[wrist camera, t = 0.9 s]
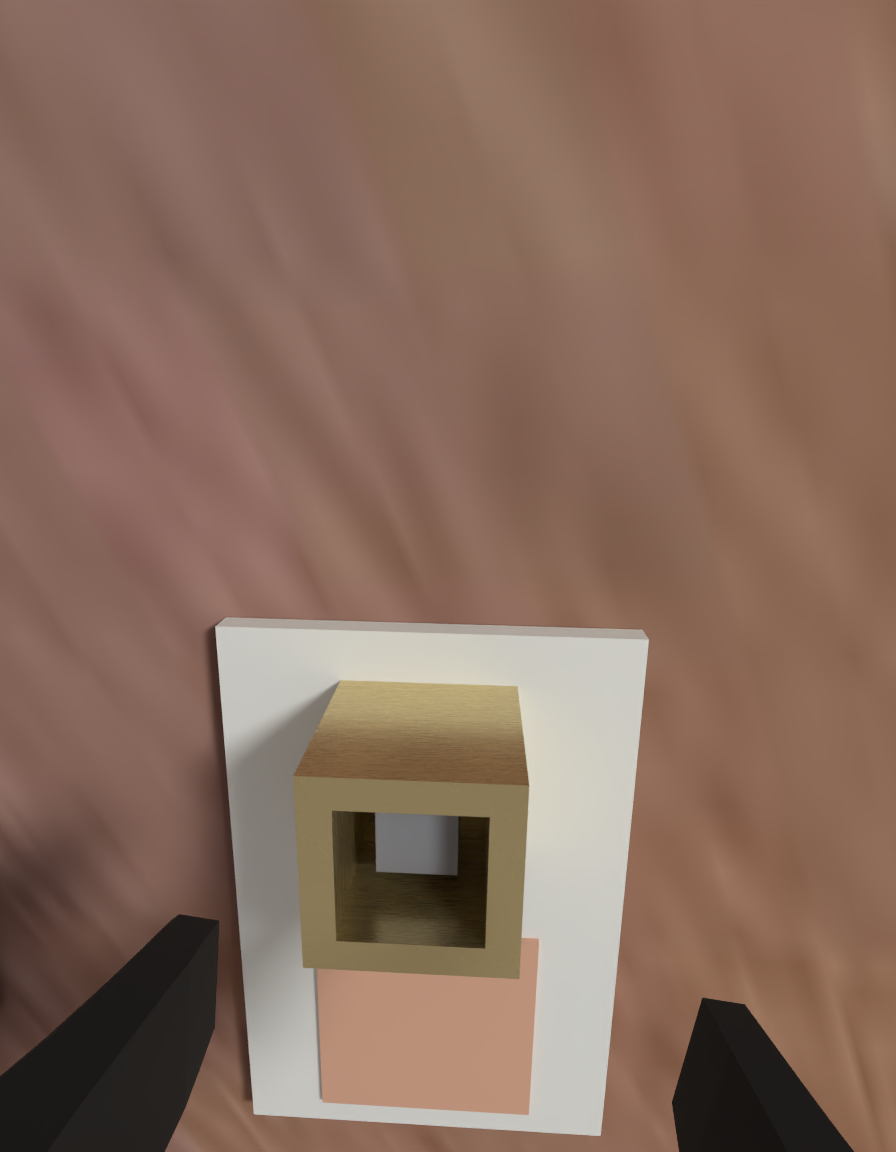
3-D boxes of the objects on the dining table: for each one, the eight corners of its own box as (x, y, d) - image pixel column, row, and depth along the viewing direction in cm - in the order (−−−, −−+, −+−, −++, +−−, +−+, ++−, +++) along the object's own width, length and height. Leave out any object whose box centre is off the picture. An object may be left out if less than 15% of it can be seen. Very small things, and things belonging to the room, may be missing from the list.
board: (261, 1091, 24) (215, 1234, 20) (225, 617, 20) (157, 676, 16) (596, 1111, 24) (620, 1262, 20) (642, 629, 19) (686, 694, 15)
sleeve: (344, 833, 21) (302, 967, 16) (340, 680, 19) (293, 776, 14) (510, 840, 20) (519, 979, 16) (517, 686, 19) (529, 785, 14)
